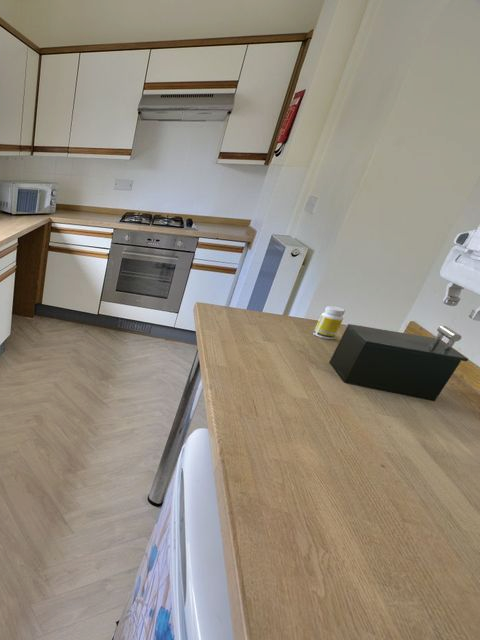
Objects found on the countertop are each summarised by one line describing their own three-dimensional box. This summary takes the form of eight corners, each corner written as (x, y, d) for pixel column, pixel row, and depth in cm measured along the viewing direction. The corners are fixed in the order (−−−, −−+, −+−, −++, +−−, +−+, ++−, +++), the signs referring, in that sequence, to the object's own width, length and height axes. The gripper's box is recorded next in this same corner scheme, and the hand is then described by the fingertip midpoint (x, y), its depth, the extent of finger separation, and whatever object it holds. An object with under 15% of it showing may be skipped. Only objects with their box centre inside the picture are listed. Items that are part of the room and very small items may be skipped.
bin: (410, 378, 95) (433, 340, 91) (434, 401, 86) (461, 360, 82) (328, 362, 101) (347, 326, 96) (344, 382, 92) (364, 343, 88)
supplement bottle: (338, 340, 114) (351, 312, 110) (321, 339, 113) (334, 311, 110) (324, 332, 118) (337, 305, 114) (308, 332, 118) (320, 304, 114)
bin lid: (438, 341, 91) (449, 323, 89) (467, 361, 82) (480, 341, 80) (347, 326, 96) (355, 308, 94) (364, 343, 88) (374, 324, 86)
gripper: (573, 258, 67) (518, 334, 74) (492, 237, 84) (453, 300, 91) (521, 252, 70) (472, 326, 76) (452, 233, 87) (417, 294, 93)
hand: (461, 311), depth 83 cm, fingers open, 8 cm apart
